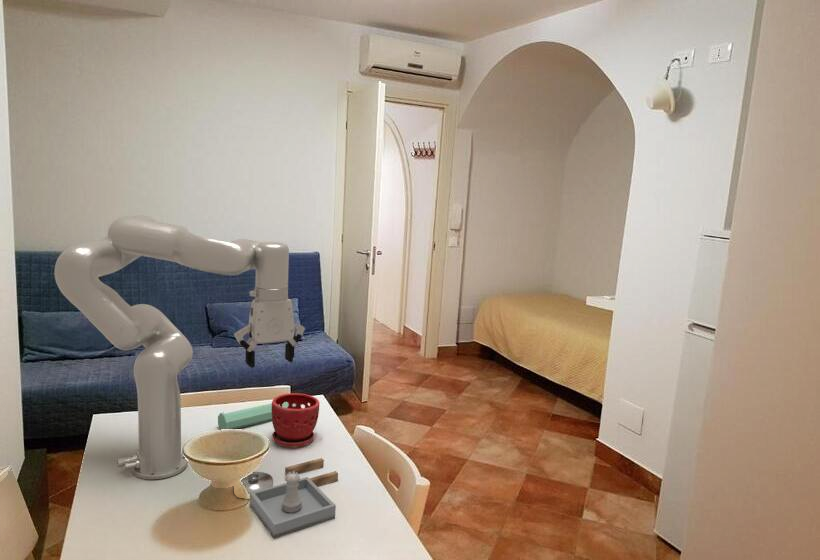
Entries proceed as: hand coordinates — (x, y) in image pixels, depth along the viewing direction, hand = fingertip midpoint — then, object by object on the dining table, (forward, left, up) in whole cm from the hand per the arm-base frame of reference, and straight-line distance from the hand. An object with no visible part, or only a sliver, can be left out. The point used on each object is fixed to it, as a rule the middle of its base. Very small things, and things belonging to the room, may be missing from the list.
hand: (270, 363), depth 134 cm
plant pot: (+13, +13, -28) cm, 34 cm away
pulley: (-6, -6, -28) cm, 30 cm away
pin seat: (+8, -8, -28) cm, 30 cm away
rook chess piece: (-2, -19, -28) cm, 34 cm away
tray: (-2, -19, -28) cm, 34 cm away
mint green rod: (+10, +30, -29) cm, 42 cm away
